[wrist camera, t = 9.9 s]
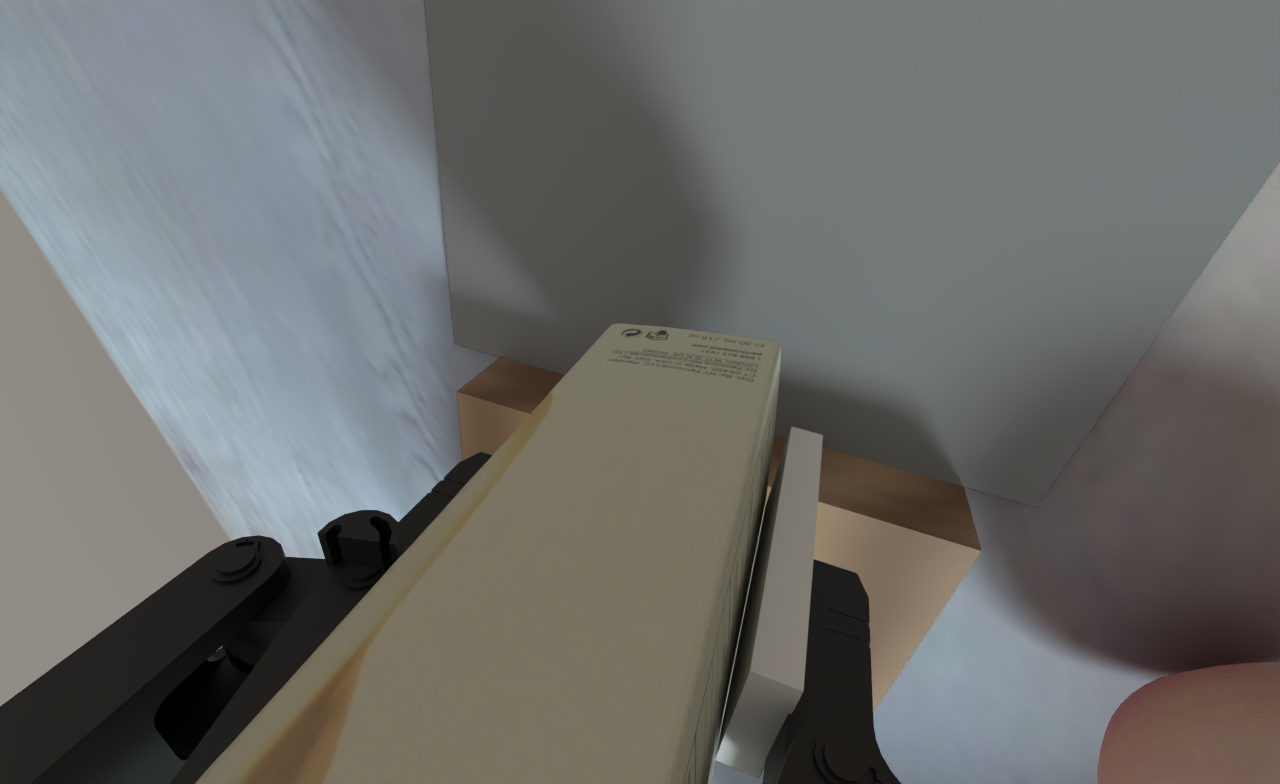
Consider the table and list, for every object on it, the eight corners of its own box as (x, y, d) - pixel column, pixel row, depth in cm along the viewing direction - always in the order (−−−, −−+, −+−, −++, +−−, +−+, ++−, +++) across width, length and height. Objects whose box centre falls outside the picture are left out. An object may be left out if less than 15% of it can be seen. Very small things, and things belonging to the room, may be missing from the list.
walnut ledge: (961, 481, 16) (981, 550, 14) (856, 663, 22) (857, 737, 19) (504, 353, 20) (456, 391, 17) (510, 537, 25) (474, 586, 23)
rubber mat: (1473, -135, 9) (1493, -142, 8) (1033, 500, 16) (1035, 507, 16) (416, -173, 13) (408, -178, 13) (458, 340, 20) (454, 343, 20)
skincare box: (610, 316, 13) (-121, 1027, 3) (788, 335, 12) (480, 1589, 2) (620, 510, 16) (266, 1167, 7) (762, 542, 15) (591, 1420, 5)
